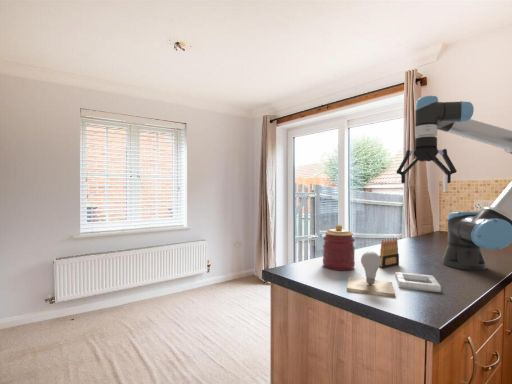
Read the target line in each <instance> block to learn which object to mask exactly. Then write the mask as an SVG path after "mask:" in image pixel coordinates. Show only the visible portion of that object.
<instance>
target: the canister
mask: <svg viewBox="0 0 512 384" xmlns="http://www.w3.org/2000/svg"><path fill="white" fill-rule="evenodd" d="M324 234H325V236H323V237H322V240H323V241H324V242H323V245H322V247H323V249H322V251H323V252H322V266H323V267H324V268H325V269H329V270H333V271H334V270H335V271H351V270H353V269H355V266H356V264H355V263H356V261H355V251H356V247H355V243H354V242H355V241H356V239H355V238H354V237H353V235H354V233H353V232H352V231H350V230H349V229H345V228H344V229H343V226H342V225H341V224H337V225H336V226H335V228H331V229H330V228H329V229H328V230H326V231H324Z"/></svg>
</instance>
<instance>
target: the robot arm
mask: <svg viewBox="0 0 512 384" xmlns="http://www.w3.org/2000/svg"><path fill="white" fill-rule="evenodd" d="M414 109H415V110H414V114H415V115H414V117H415V119H414V123H415V124H414V125H415V127H414V137H415V139H414V150H410V149H408V150H406V151H405V155H404V157H403V159H402V161H401V163H400V165H399V166H398V168H397V170H396V171H395V172H396V174H397V175H400V178H401V179H400V181H401V182H400V183H401V184H403V192H405V193H406V192H408V172H409V171H410V170H411V169H412V168H413V166H414V165H416V164H417V163H418V161H419V162H420V163H421V162H433V163H434V164H435V165H436V166H437V167H438V168H439V169H440V170H441V171H442V172H443V173H444V174H443V175H442V176H443V177H442V178H443V180H442V181H443V182H442V183H443V184H442V185H443V186H442V191H443V193H448V184H450V183H451V180H452V179H451V176H452V175H453V174H455V173H457V169H456V167H455V166H454V164H453V162H452V160H451V159H450V157H449V155H448V150H447V148H444V149H438V138H437V136H438V131H442V132H446V133H450V134H453V135H456V136H459V137H463V138H466V139H470V140H472V141H476V142H479V143H481V144H482V143H483V144H487V145H490V146H492V147H496V148H500V149H503V150H504V151H505V153H507V154H511V155H512V130H510V129H507V128H503V127H500V126H497V125H492V124H489V123H485V122H483V121H478V120H474V119H472V117H473V116H474V111H475V110H474V104H473V103H472V102H471V101H463V100H462V101H461V100H460V101H445V102H443V101H439V99H438V97H437V95H425V96H422V97H418V99H416V102H415V108H414ZM438 154H439V155H440V156H442V159H443V160H444V163H445V164H446V165H447V167H448V168H449V169H448V168H447V167H446V165H444V164H443V163H442V161H440V159H439V158H438V157H437V155H438ZM412 155H414V157H415V158H414V159H413V160H412V161H411V163H409V164H408V165H407V166H406V167H405V168H404V166H405V165H406V163H407V161H408V160H409V158H410V157H411V156H412ZM403 168H404V169H403ZM402 170H403V171H402ZM511 244H512V180H511V181H510V182H509V183H508V185H507V186H506V187H505V188H504V190H502V192H501V193H500V194H499V195H498V196H497V198H496V199H495V200H494V201H493V203H491V204H490V206H486V207H482V208H481V209H480V211H453V212H450V213H449V214H448V217H447V247H446V249H445V252H444V254H443V257H442V264H443V265H445V266H447V267H450V268H455V269H460V270H466V271H467V270H468V271H485V270H486V269H487V263H486V260H485V257H484V255H483V251H482V249H485V250H492V251H496V250H497V251H498V250H502V249H505V248H506V247H508V246H509V245H511Z"/></svg>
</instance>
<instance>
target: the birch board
mask: <svg viewBox="0 0 512 384" xmlns="http://www.w3.org/2000/svg"><path fill="white" fill-rule="evenodd" d="M346 292H350V293H351V292H352V293H359V294H360V293H361V294H369V295H375V296H383V297H391V298H396V292H395V289H394V285H393V281H387V280H379V279H377V280H376V279H375V283H374V284H372V285H369V284H368V283H367V281H366V278H358V277H350V276H349V277H348V279H347V286H346Z"/></svg>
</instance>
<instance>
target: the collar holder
mask: <svg viewBox="0 0 512 384" xmlns="http://www.w3.org/2000/svg"><path fill="white" fill-rule="evenodd" d="M394 273H395V276H394V277H395V281H396V283H397V286H398V288H399V289H407V290H408V289H409V290H418V291H424V292H425V291H426V292H434V293H435V292H436V293H442V292H441V291H442V285H441V284H440V283H439V282H438V280H437V279H436V278H435V277H434V275H432V274H431V275H430V274H421V273H412V272H411V273H410V272H401V271H395V272H394Z"/></svg>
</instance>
